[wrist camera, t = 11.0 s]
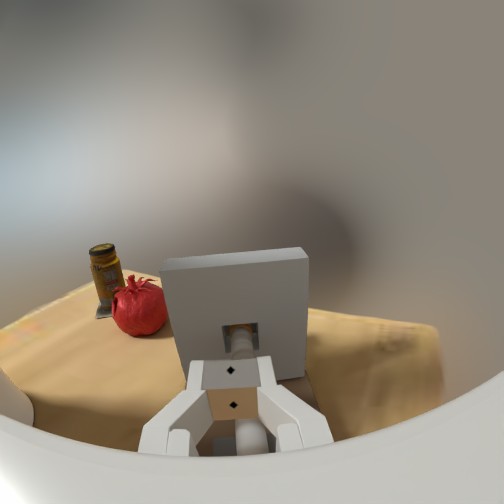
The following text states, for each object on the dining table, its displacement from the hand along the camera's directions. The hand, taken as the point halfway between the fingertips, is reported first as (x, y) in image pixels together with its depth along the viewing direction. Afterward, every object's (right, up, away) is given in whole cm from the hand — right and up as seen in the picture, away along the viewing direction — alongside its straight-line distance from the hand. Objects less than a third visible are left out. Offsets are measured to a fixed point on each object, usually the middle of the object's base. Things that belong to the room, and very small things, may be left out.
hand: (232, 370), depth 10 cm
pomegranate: (-17, -8, +33) cm, 38 cm away
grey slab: (0, -9, +20) cm, 22 cm away
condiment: (-26, -6, +39) cm, 48 cm away
